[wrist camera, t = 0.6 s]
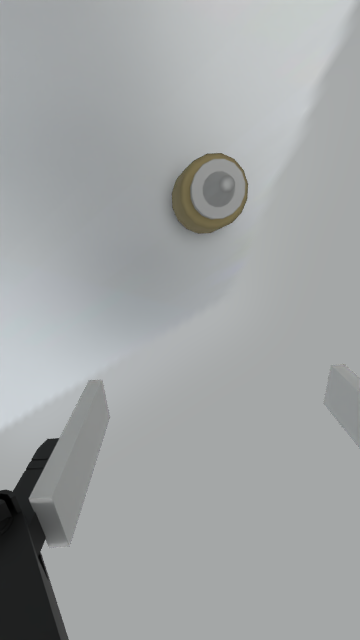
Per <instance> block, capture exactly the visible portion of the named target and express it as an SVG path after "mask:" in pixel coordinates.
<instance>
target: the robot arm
mask: <svg viewBox="0 0 360 640" xmlns="http://www.w3.org/2000/svg"><path fill="white" fill-rule="evenodd" d="M324 405H325V406H326V407H327V409H328V410H329V411H330V412H331V414H332V415H333V416H334V417H335V419H336V420H337V421H338V422H339V423H340V425H341V426H342V427H343V428H344V430H345V431H346V432H347V433H348V435H349V436H350V437H351V438H352V440H353V441H354V442H355V443H356V445H357V446H358V447H359V448H360V378H359V377H358V376H357V375H356V374H355V373H354V372H353V371H351V370H350V369H349V368H348V367H347V366H346V365H344V364H340V365H331V367H330V372H329V377H328V383H327V388H326V393H325V399H324ZM109 419H110V415H109V410H108V405H107V400H106V395H105V390H104V385H103V381H102V380H89V381H88V383H87V385H86V387H85V389H84V391H83V393H82V395H81V397H80V399H79V401H78V403H77V405H76V407H75V409H74V411H73V413H72V415H71V417H70V419H69V421H68V423H67V424H66V426H65V428H64V430H63V432H62V434H61V436H60V438H56V439H47V440H46V441H45V442H44V443H43V444H42V445H41V446H40V447H39V448H38V449H37V451H36V453H35V454H34V456H33V458H32V461H31V462H30V463H29V465H28V466H27V468H26V471H25V472H24V473H23V475H22V477H21V478H20V480H19V482H18V484H17V485H16V487H15V489H14V490H13V492H12V491H9V490H1V491H0V640H69V639H68V636H67V633H66V630H65V627H64V623H63V620H62V617H61V614H60V611H59V608H58V605H57V602H56V598H55V595H54V592H53V589H52V586H51V583H50V580H49V576H48V573H47V570H46V567H45V564H44V561H43V558H42V555H41V553H40V551H41V549H42V546H43V543H44V541H45V539H46V541H47V544H48V546H49V548H54V547H69V546H70V544H71V541H72V538H73V534H74V531H75V528H76V524H77V521H78V518H79V515H80V511H81V509H82V505H83V502H84V499H85V496H86V493H87V489H88V486H89V483H90V480H91V477H92V474H93V470H94V467H95V463H96V461H97V457H98V454H99V451H100V448H101V445H102V441H103V438H104V435H105V431H106V429H107V425H108V422H109Z"/></svg>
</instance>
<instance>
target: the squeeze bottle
mask: <svg viewBox="0 0 360 640" xmlns="http://www.w3.org/2000/svg"><path fill="white" fill-rule="evenodd" d="M247 193H248V183H247V179H246V176H245V173H244V170H243V169H242V168H241V167H240V165H239V164H238V163H237V162H236V161H235V160H234V159H233V158H231V157H228V156H226V155H224V154H222V153H215V154H206V155H204V156H202V157H200V158H198V159H196V160H194V161H193V162H192V163H191V164H190V165H189V166H188V167H187V168H186V169H185V170H184V171H183V172H182V173H181V175H180V176H179V177H178V178H177V180H176V182H175V185H174V188H173V192H172V208H173V210H174V212H175V215H176V217H177V219H178V221H179V222H180V223H181V224H182V225H183V226H184V227H185V228H186V229H188V230H191V231H193V232H196V233H212V232H214V231H216V230H218V229H220V228H222V227H224V226H226V225H228V224H230V223H232V222H233V221H234V220H235V219H236V218H237V217H238V216H239V215H240V214H241V212H242V210H243V208H244V205H245V203H246V201H247Z"/></svg>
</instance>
